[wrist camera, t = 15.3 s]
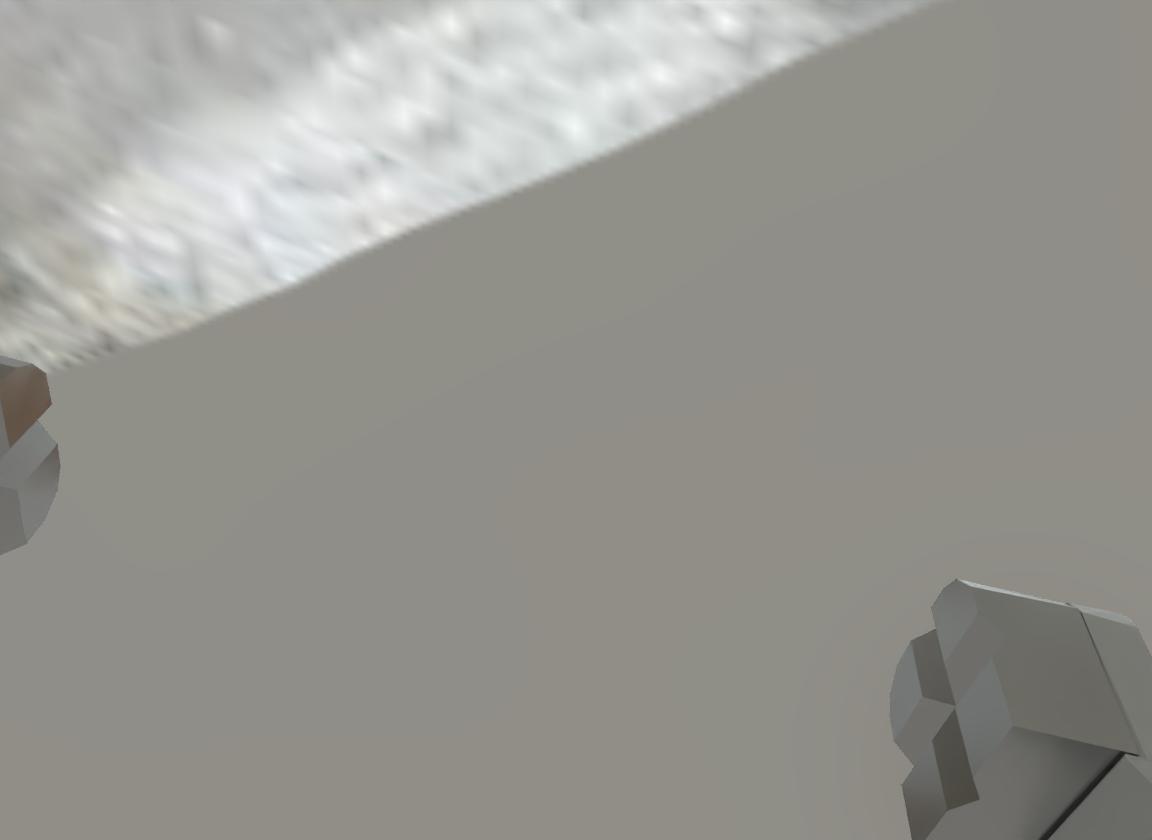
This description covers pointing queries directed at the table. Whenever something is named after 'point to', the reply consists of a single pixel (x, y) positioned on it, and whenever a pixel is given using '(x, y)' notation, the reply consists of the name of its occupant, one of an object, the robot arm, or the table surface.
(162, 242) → the table surface
